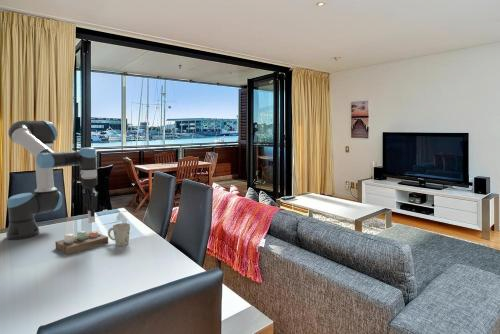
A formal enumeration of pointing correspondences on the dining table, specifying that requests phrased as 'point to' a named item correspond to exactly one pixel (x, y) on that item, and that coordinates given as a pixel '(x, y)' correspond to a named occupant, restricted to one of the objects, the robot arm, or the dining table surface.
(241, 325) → the dining table surface
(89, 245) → the button panel
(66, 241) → the button cream
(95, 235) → the button terracotta
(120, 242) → the mug
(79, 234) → the button sage
